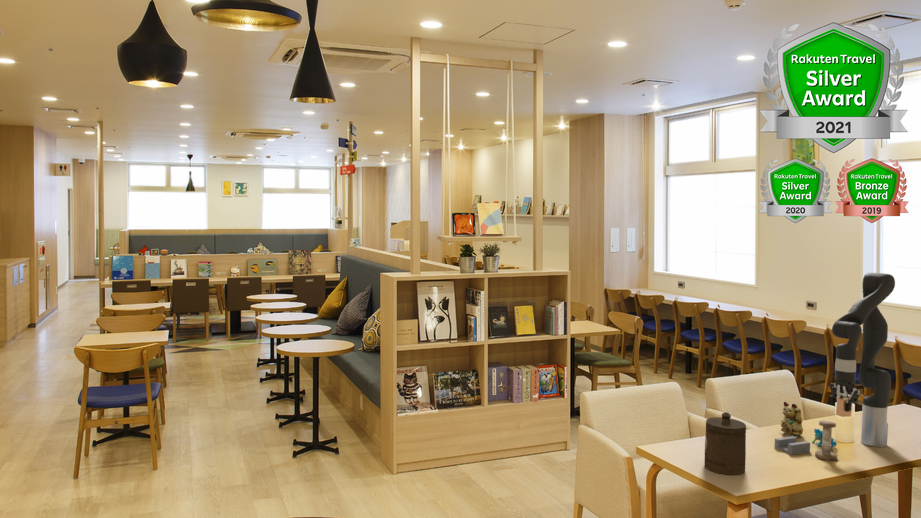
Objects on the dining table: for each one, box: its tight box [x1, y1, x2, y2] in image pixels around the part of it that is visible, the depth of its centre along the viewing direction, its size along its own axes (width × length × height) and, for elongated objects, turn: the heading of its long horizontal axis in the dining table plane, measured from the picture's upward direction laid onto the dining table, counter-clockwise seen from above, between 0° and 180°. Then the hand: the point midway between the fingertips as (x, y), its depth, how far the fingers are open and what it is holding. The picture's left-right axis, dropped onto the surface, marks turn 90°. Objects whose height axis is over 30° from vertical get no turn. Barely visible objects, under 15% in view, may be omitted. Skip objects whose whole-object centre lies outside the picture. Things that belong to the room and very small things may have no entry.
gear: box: [812, 428, 837, 447], centre depth 282 cm, size 11×6×10 cm
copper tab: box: [835, 397, 853, 418], centre depth 270 cm, size 5×3×7 cm, turn 110°
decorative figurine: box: [780, 401, 804, 438], centre depth 296 cm, size 10×8×15 cm
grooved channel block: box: [774, 436, 811, 456], centre depth 276 cm, size 10×9×4 cm
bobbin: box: [814, 420, 838, 462], centre depth 267 cm, size 8×8×14 cm
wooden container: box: [704, 411, 747, 476], centre depth 254 cm, size 15×15×22 cm
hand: (844, 410), depth 270 cm, fingers closed on copper tab, 2 cm apart
